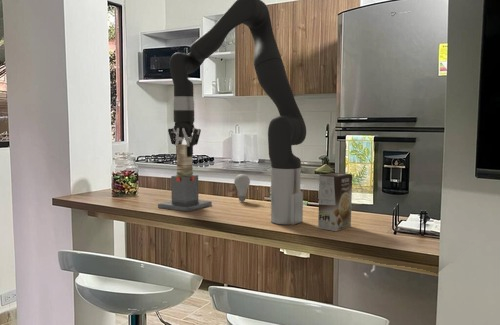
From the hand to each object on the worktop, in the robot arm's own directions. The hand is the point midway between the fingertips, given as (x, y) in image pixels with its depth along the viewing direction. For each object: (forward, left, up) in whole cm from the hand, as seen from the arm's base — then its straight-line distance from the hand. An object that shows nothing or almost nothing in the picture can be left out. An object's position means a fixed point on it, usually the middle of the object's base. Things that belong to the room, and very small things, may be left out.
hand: (184, 156), depth 165 cm
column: (0, 0, -11) cm, 11 cm away
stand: (0, 0, -19) cm, 19 cm away
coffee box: (-59, +2, -19) cm, 62 cm away
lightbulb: (-13, -19, -19) cm, 30 cm away
